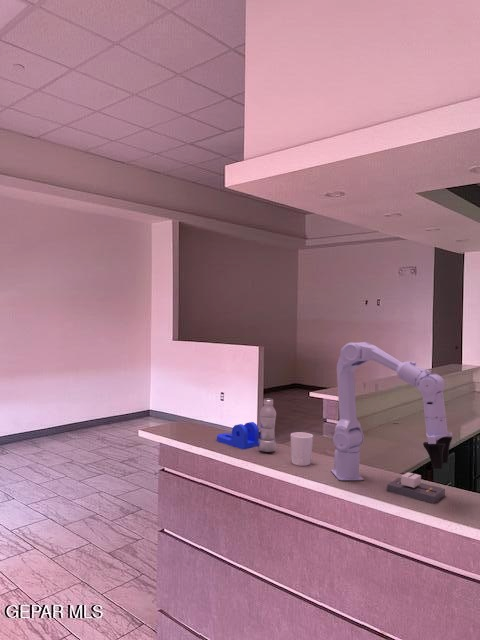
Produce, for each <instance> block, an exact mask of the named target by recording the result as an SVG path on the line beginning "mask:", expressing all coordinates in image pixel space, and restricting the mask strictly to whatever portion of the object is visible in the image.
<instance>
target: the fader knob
mask: <svg viewBox="0 0 480 640" xmlns="http://www.w3.org/2000/svg"><path fill="white" fill-rule="evenodd" d="M400 478H401V484H402V485H406V486H409V487H413V488H415V487H416V486H418V485H419V484H421V483H422V475H421V474H417V473H413V472H409V471H408V472H406V473H404V474H402V475H401V477H400Z"/></svg>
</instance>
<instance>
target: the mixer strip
mask: <svg viewBox="0 0 480 640" xmlns="http://www.w3.org/2000/svg"><path fill="white" fill-rule="evenodd" d="M386 491H387V492H389V493H393V494H396V495H401V496H403V497H408V498H411V499H415V500H419V501H422V502H426V503H429V504H436V503H437V502H439V501H440V500H441V499H442V498H443V497H445V496H446V488H443V487H439V486H434V485H432V484H427V483H422V482H421V484H419V485H418V486H416V487H415V488H413V487H409V486H406V485H402V484H401V477H398V478H395V479H394V480H392V481H390V482H389V483H386Z"/></svg>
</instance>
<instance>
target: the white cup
mask: <svg viewBox="0 0 480 640" xmlns="http://www.w3.org/2000/svg"><path fill="white" fill-rule="evenodd" d="M313 441H314V435H313V434H312V433H308V432H304V431H301V432H298V431H297V432H291V433H290V454H291V455H290V456H291V457H290V458H291V461H290V462H291V464H293V465H294V466H300V467H303V466H304V467H305V466H310V465H311V464H312V453H313V443H314V442H313Z"/></svg>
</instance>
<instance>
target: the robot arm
mask: <svg viewBox="0 0 480 640" xmlns="http://www.w3.org/2000/svg"><path fill="white" fill-rule="evenodd" d="M339 355H340V356H339V358H338V362H337V363H336V379H337V381H336V382H337V397H338V414H339V415H338V417H339V420H338V422H337V423H336V424H335V427H334V434H333V438H332V440H333V441H332V442H333V444H334V446H335V448H336V449H335V450H334V454H333V455H334V456H333V458H334V459H333V462H334V463H333V469H331V471H330V472H331V473H332V474H333V475H334V476H335V477H336V478H337V480H338V481H364V478H363V477H362V476H361V475H360V455H361V454H360V453H361V452H360V450H361V445H363V443H364V441H365V435H364V432H363V430H362V425H361V423H360V421H359V420H358V417H357V405H356V404H357V403H356V389H355V388H356V387H355V370H357V369H358V368H359V367H360V366H361V365H362V364H365V363H367V362H369V361H374V362H377V363H378V364H380V365H382V366H384V367H387V368H388V369H390V370H392V371H394V372H396V375H397V378H399V379H400V380H401V381H403V382H405V383H407V384H409V385H410V386H412V387H414V388H416V389H417V391H418V392H419V393H420V394H421V396H422V405H423V414H424V415H423V416H424V424H425V436H426V438H427V441H425V442H423V443H422V444H423V447H424V449H425V450H426V452H427V454H428V456H429V459H430V462H431V465H432V468H433V469H436V470H437V469H438V470H441V469H442V468H443V464H448V462H449V453H450V445H451V443H452V440H453V437H452V436H453V435H454V434H453V432H451V431H448V424H447V422H448V421H447V414H446V413H447V412H446V405H445V398H444V391H445V390H446V389H445V388H446V382H445V379H444V378H443V377H442V376H440V374H438V373H431V371H430V370H428V369H426V370H425V369H423V368H421V367H420V366H418V365H417V362H415V361H413V360H411V361H408V360H407V361H403V362H402V361H400V360H399V359H398V358H396V357H394V356H392V355H391V354H390V353H387V352H385V351H384V350H382V349H381V348H380V347H378V346H377V345H375V344H371V343H369V342H368V341H361V342H347V343H346V344H344V346H343V347H341V349H340V354H339Z"/></svg>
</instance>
